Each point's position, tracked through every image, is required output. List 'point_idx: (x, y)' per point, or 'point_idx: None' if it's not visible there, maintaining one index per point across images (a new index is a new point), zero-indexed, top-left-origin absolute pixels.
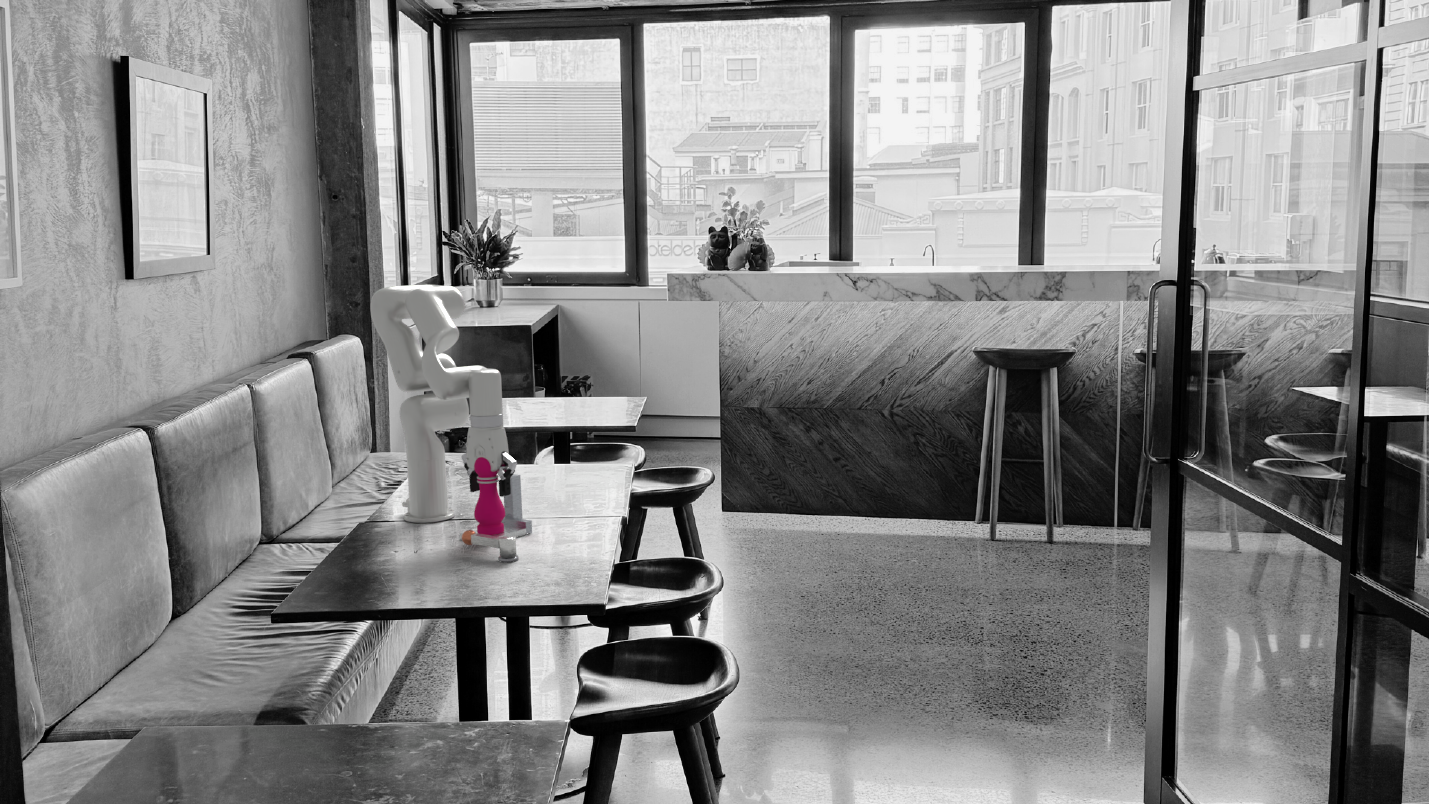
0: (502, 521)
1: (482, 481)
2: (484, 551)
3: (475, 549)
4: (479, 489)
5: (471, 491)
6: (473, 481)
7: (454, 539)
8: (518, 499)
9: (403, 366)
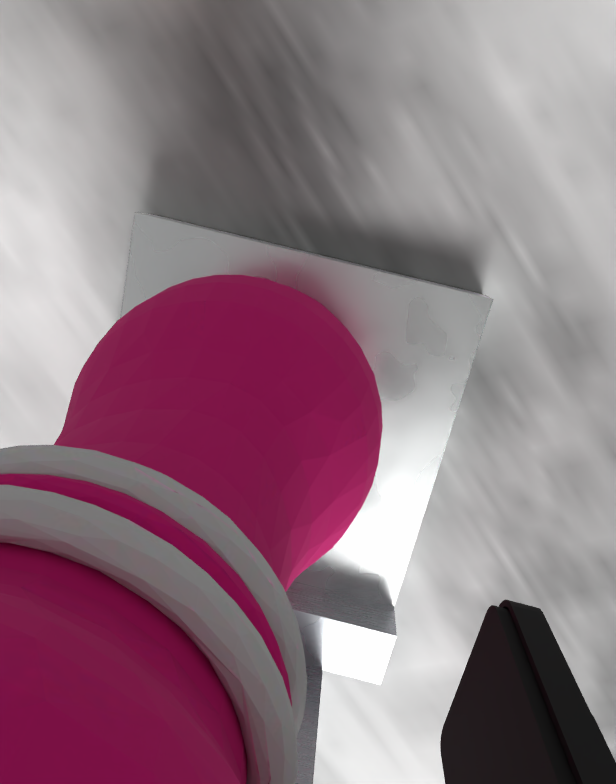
0: (303, 598)
1: (28, 477)
2: (99, 26)
3: (197, 57)
4: (453, 715)
5: (513, 602)
6: (524, 753)
7: (519, 276)
8: None
9: None
